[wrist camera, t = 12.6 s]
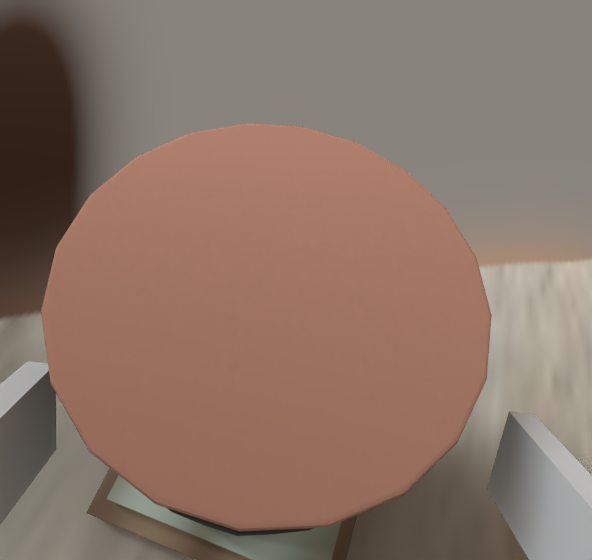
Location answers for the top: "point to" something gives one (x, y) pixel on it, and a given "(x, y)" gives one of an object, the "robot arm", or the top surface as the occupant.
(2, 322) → the top surface
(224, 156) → the coffee jar
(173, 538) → the plinth
